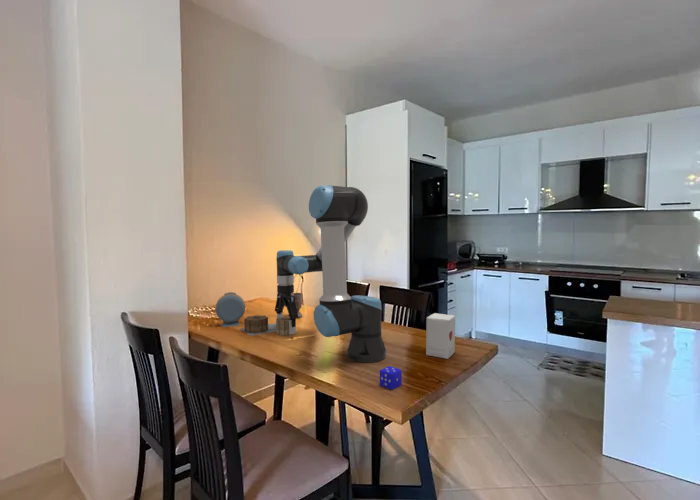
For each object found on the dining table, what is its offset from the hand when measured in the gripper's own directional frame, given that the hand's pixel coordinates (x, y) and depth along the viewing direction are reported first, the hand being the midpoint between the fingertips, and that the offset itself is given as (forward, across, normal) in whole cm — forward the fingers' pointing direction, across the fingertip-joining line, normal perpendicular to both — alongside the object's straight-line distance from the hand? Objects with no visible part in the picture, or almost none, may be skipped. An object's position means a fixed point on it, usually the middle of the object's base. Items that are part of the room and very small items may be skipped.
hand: (286, 330), depth 173 cm
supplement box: (+3, -58, -39) cm, 70 cm away
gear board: (+3, +12, +4) cm, 13 cm away
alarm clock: (+3, +30, +16) cm, 35 cm away
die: (+3, -68, -4) cm, 69 cm away
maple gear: (+3, 0, 0) cm, 3 cm away
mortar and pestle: (+3, +30, -18) cm, 36 cm away
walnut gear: (+1, +12, +10) cm, 16 cm away
